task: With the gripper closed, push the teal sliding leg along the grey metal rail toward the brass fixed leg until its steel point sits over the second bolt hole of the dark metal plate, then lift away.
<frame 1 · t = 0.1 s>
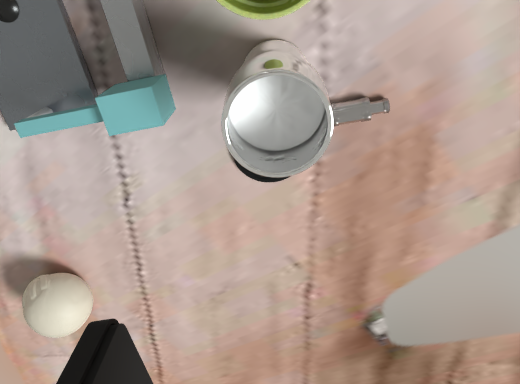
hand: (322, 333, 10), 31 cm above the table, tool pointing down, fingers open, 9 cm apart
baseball: (71, 282, 49), on the table
micrometer: (308, 140, 41), on the table
beer glass: (275, 74, 38), on the table
sliding leg: (94, 110, 35), point 5 cm above the table, slide at 9.0 cm
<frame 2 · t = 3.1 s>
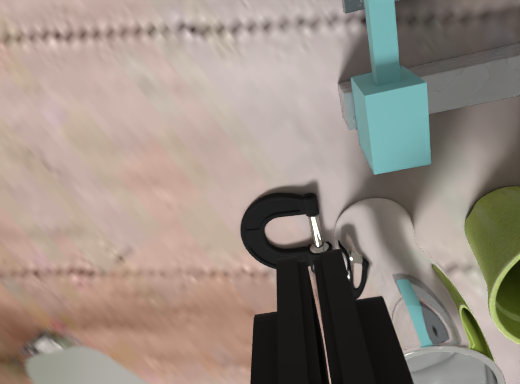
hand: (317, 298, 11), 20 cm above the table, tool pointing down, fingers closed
plant pot: (502, 217, 33), on the table
micrometer: (293, 265, 36), on the table
beer glass: (372, 229, 34), on the table
sliding leg: (377, 40, 23), point 5 cm above the table, slide at 9.0 cm
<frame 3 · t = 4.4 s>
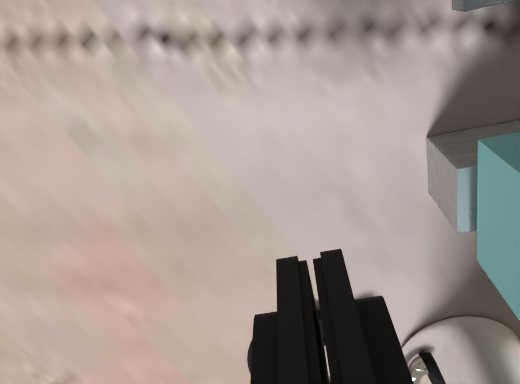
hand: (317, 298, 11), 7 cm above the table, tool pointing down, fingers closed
beer glass: (455, 357, 21), on the table
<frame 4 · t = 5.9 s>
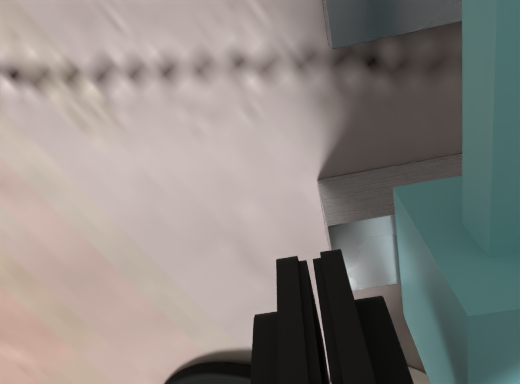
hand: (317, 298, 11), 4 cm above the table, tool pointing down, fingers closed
sliding leg: (477, 119, 9), point 5 cm above the table, slide at 7.7 cm, touching gripper
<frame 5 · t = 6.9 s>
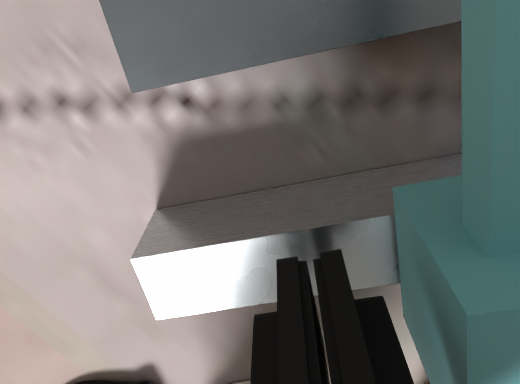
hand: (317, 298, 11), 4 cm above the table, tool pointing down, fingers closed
sliding leg: (477, 118, 9), point 5 cm above the table, slide at 1.9 cm, touching gripper
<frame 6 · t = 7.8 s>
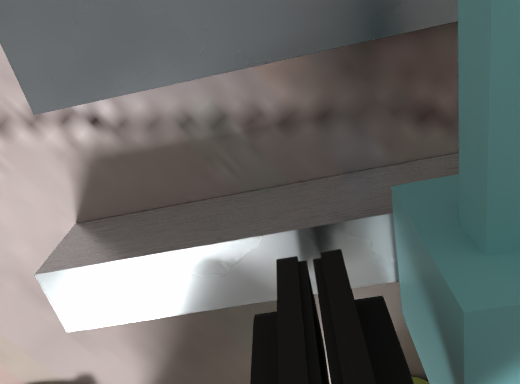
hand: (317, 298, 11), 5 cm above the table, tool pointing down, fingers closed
rail: (438, 188, 14), on the table
sliding leg: (474, 118, 9), point 5 cm above the table, slide at -1.2 cm, touching gripper
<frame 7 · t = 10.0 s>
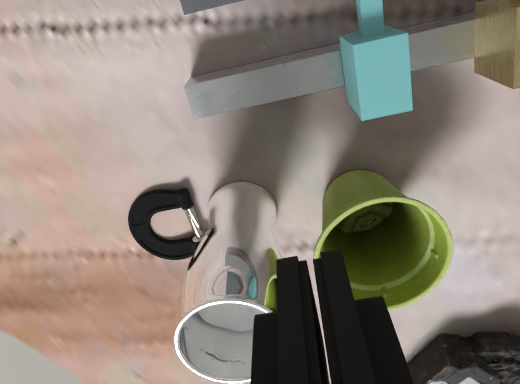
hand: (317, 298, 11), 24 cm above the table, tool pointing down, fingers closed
plant pot: (356, 198, 37), on the table
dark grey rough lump: (472, 373, 47), on the table
rail: (365, 54, 31), on the table
micrometer: (185, 254, 40), on the table
beer glass: (242, 211, 37), on the table
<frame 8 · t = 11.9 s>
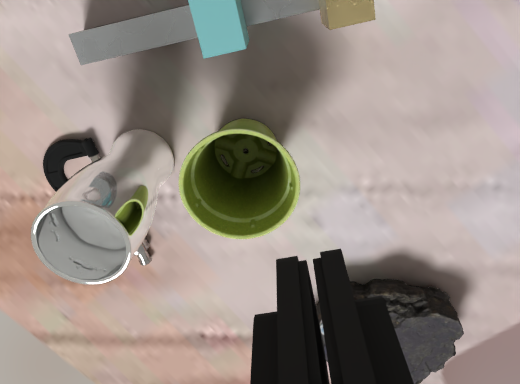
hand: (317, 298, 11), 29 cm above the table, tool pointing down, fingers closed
plant pot: (245, 147, 40), on the table
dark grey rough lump: (374, 322, 50), on the table
rail: (235, 9, 35), on the table
micrometer: (99, 202, 44), on the table
beer glass: (143, 157, 41), on the table
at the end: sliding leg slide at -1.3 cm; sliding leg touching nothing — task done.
